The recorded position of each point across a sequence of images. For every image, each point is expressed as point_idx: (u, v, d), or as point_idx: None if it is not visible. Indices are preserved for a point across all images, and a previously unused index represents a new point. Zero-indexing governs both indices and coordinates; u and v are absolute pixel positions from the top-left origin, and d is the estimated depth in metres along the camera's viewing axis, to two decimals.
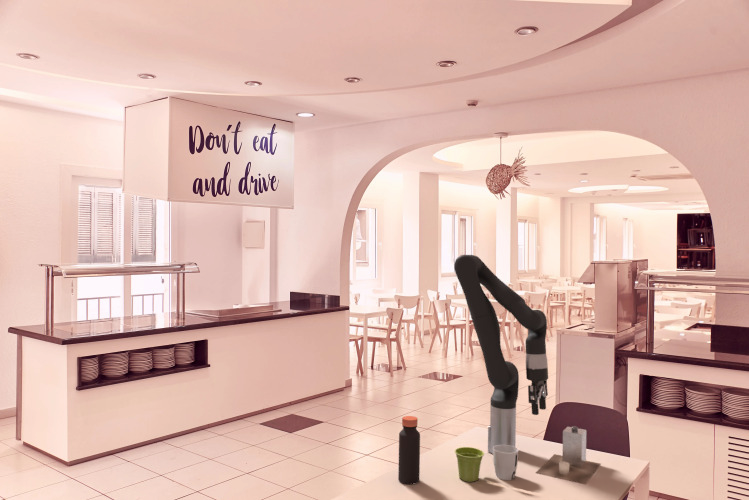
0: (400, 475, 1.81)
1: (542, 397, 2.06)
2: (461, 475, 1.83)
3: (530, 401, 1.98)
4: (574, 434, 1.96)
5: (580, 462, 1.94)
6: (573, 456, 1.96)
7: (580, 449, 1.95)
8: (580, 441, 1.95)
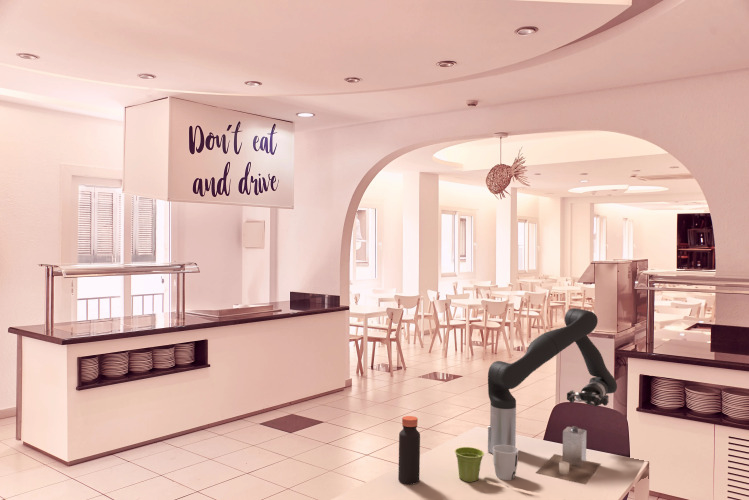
0: (400, 475, 1.81)
1: (574, 398, 2.14)
2: (461, 475, 1.83)
3: (606, 400, 2.08)
4: (574, 434, 1.96)
5: (580, 462, 1.94)
6: (573, 456, 1.96)
7: (580, 449, 1.95)
8: (580, 441, 1.95)
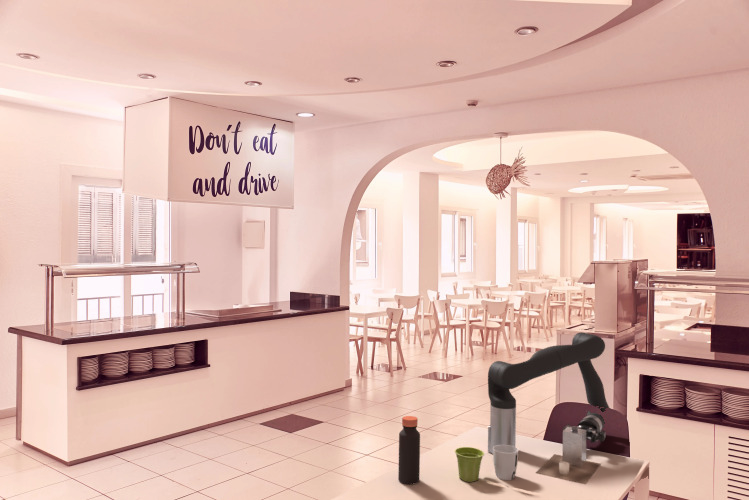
0: (400, 475, 1.81)
1: None
2: (461, 475, 1.83)
3: (603, 436, 2.05)
4: (574, 434, 1.96)
5: (580, 462, 1.94)
6: (573, 456, 1.96)
7: (580, 449, 1.95)
8: (580, 441, 1.95)
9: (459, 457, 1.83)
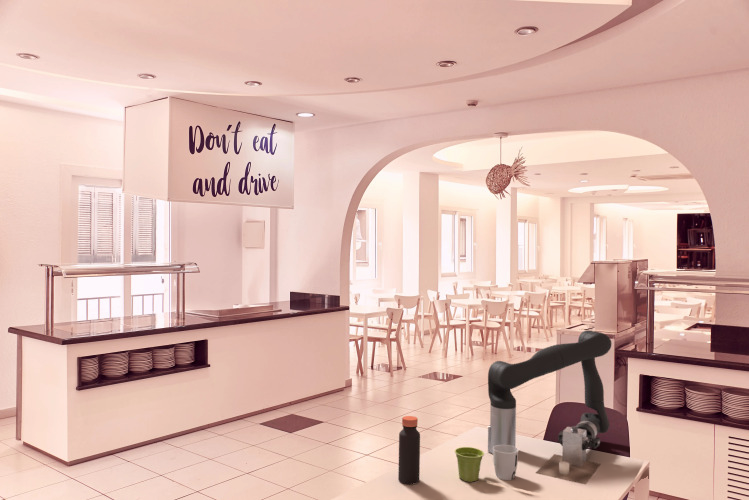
0: (400, 475, 1.81)
1: None
2: (461, 475, 1.83)
3: (594, 443, 1.97)
4: (574, 434, 1.96)
5: (580, 462, 1.94)
6: (573, 456, 1.96)
7: (580, 449, 1.94)
8: (580, 441, 1.95)
9: (459, 457, 1.83)
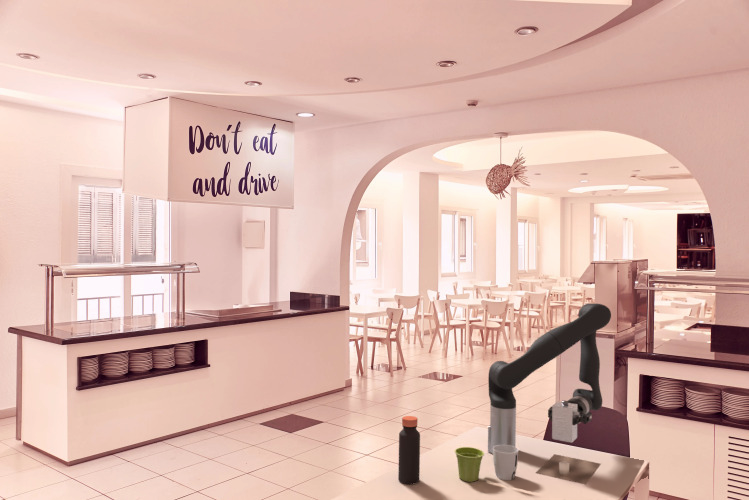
0: (400, 475, 1.81)
1: None
2: (461, 475, 1.83)
3: (586, 418, 1.87)
4: (564, 408, 1.85)
5: (571, 438, 1.84)
6: (563, 431, 1.85)
7: (571, 424, 1.84)
8: (570, 415, 1.84)
9: (459, 457, 1.83)
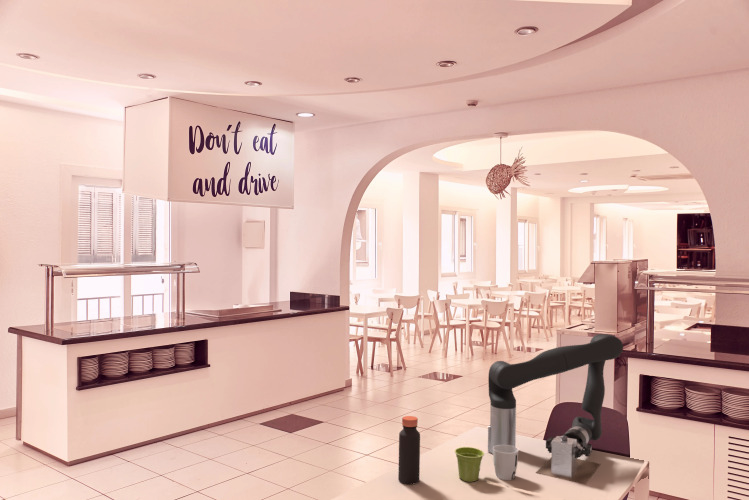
0: (400, 475, 1.81)
1: None
2: (461, 475, 1.83)
3: (588, 450, 1.87)
4: (563, 444, 1.85)
5: (570, 474, 1.84)
6: (563, 467, 1.85)
7: (570, 460, 1.84)
8: (570, 451, 1.84)
9: (459, 457, 1.83)
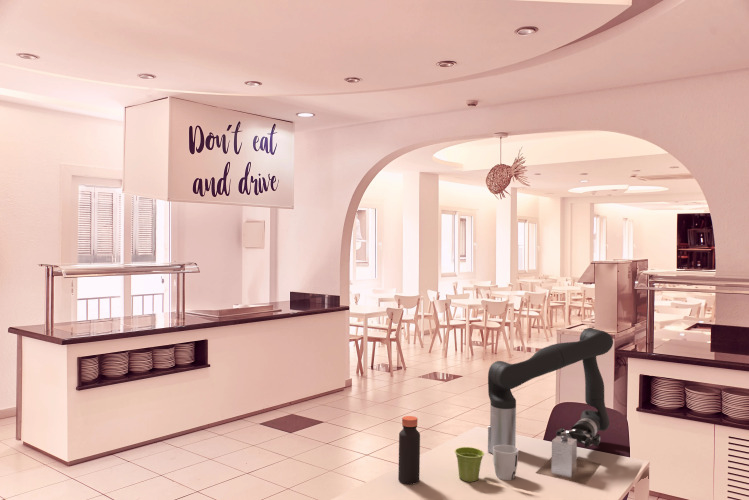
0: (400, 475, 1.81)
1: None
2: (461, 475, 1.83)
3: (597, 440, 1.97)
4: (564, 444, 1.85)
5: (570, 474, 1.84)
6: (563, 467, 1.85)
7: (570, 460, 1.84)
8: (570, 451, 1.84)
9: (459, 457, 1.83)
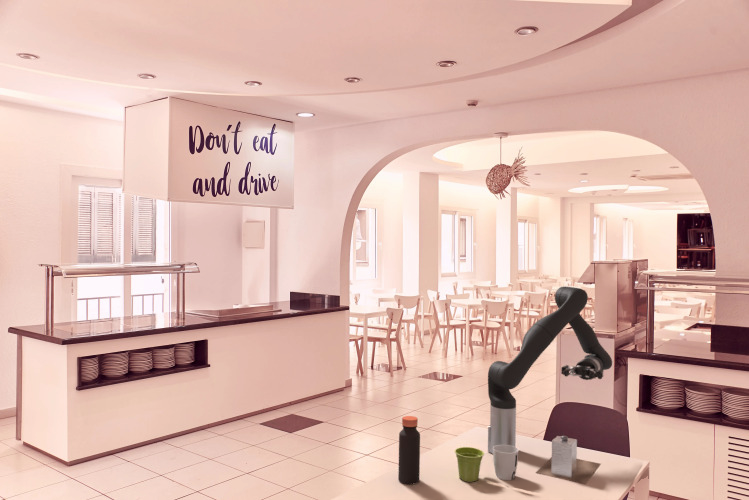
0: (400, 475, 1.81)
1: None
2: (461, 475, 1.83)
3: (601, 373, 2.06)
4: (564, 444, 1.85)
5: (570, 474, 1.84)
6: (563, 467, 1.85)
7: (570, 460, 1.84)
8: (570, 451, 1.84)
9: (459, 457, 1.83)
